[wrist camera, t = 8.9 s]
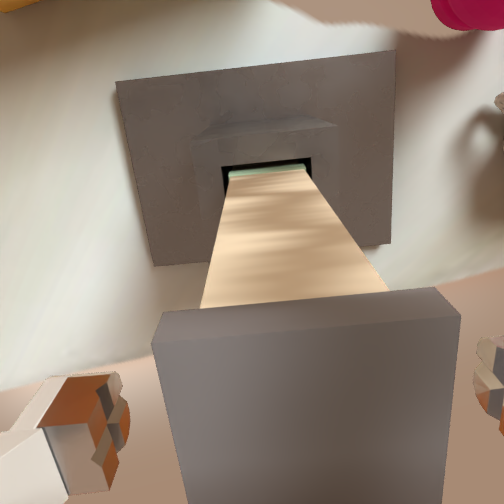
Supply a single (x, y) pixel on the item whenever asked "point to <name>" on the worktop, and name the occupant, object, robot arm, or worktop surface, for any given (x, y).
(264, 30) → the worktop surface
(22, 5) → the bread
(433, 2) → the pink tall rounded piece
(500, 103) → the mug
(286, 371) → the column
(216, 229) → the stand
